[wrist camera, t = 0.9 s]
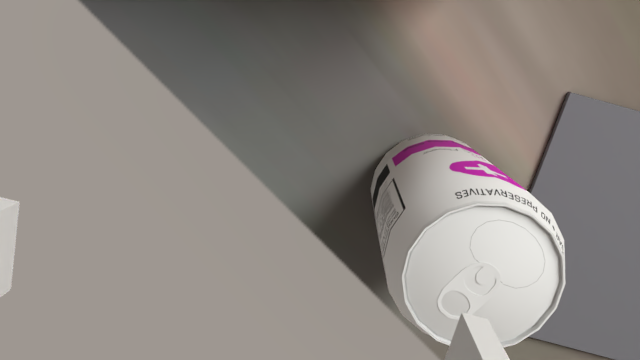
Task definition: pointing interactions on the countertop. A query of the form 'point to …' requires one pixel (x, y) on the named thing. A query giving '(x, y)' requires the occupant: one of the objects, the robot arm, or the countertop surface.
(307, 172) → the countertop surface
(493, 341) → the robot arm
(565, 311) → the mat
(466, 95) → the countertop surface
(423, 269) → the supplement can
